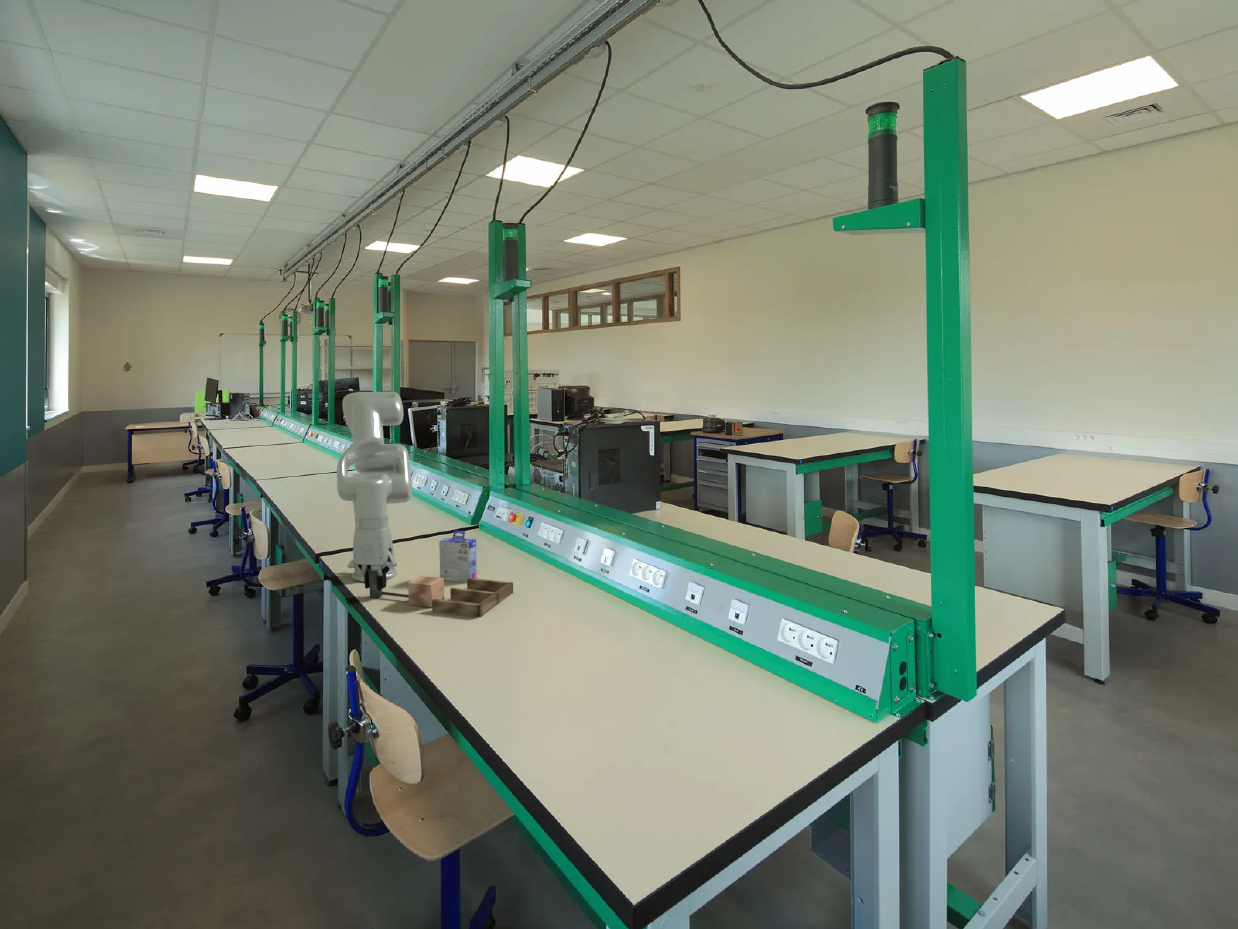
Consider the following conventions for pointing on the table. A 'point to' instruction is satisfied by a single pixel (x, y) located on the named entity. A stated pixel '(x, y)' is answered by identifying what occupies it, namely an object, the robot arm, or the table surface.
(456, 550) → the ink cartridge box
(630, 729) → the table surface
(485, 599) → the tray
